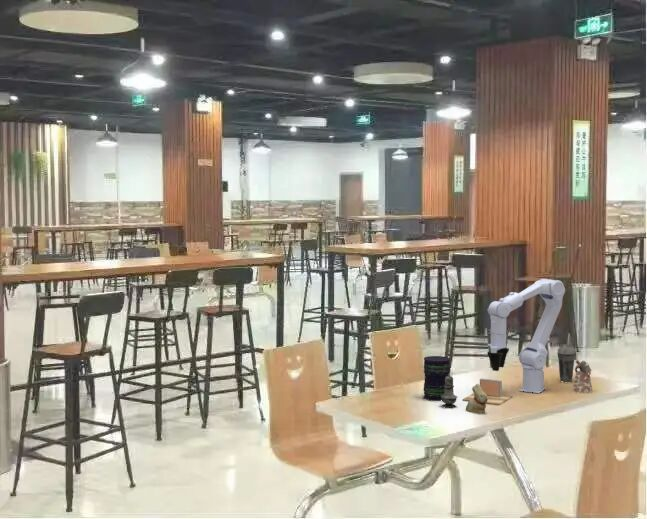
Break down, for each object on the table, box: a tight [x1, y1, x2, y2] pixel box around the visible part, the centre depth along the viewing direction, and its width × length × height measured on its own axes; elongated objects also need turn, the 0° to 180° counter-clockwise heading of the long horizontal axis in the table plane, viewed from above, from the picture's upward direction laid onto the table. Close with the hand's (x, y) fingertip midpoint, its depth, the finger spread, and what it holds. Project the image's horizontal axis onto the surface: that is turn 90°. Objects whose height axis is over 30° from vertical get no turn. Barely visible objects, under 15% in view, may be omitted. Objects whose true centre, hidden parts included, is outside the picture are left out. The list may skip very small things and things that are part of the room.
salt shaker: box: [441, 372, 458, 409], centre depth 295 cm, size 6×6×12 cm
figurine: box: [572, 359, 593, 394], centre depth 319 cm, size 7×7×12 cm
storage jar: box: [423, 355, 451, 402], centre depth 308 cm, size 10×10×15 cm
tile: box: [479, 378, 503, 397], centre depth 309 cm, size 2×8×6 cm, turn 59°
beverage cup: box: [557, 332, 577, 382], centre depth 336 cm, size 7×7×20 cm
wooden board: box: [462, 392, 514, 406], centre depth 306 cm, size 15×14×1 cm
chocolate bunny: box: [465, 383, 488, 414], centre depth 287 cm, size 6×8×10 cm
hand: (498, 368), depth 313 cm, fingers open, 7 cm apart
